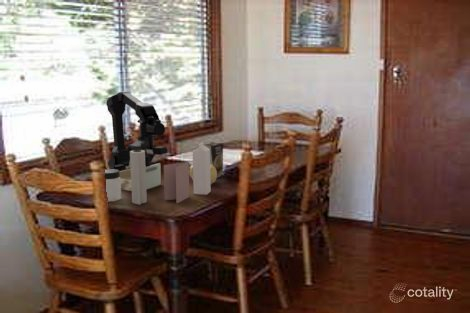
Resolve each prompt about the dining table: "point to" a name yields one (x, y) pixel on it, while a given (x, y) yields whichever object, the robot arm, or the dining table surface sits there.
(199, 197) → the dining table surface
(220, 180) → the dining table surface
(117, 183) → the jar
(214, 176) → the sculpture
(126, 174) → the beige shallow tray
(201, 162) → the milk
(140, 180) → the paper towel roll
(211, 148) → the coffee box
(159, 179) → the pale grey-green rectangular panel
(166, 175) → the greeting card
